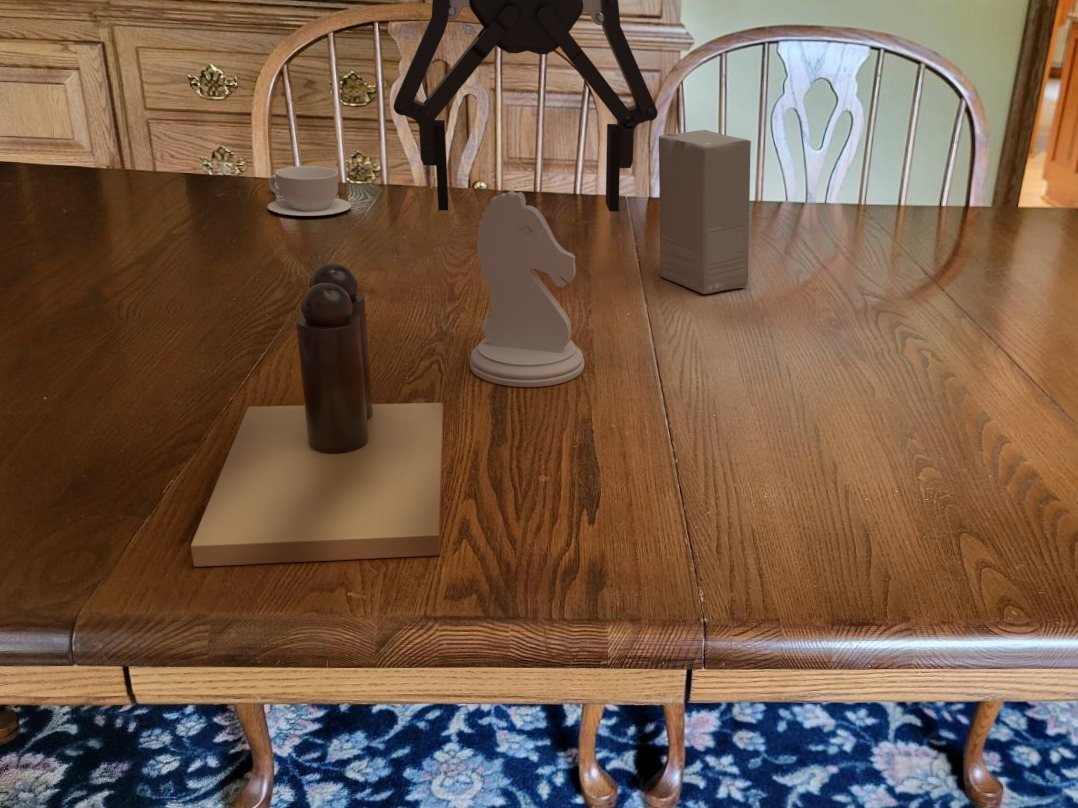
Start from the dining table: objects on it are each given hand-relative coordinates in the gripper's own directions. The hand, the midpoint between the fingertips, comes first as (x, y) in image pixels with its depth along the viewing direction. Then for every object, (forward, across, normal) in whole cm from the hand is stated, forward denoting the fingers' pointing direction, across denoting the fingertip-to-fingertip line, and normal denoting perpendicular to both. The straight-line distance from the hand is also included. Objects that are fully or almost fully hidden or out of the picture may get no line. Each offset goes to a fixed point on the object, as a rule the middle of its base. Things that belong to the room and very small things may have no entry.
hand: (529, 207), depth 90 cm
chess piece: (+14, 0, 0) cm, 14 cm away
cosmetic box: (+14, -20, -24) cm, 34 cm away
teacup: (+14, +24, -54) cm, 61 cm away
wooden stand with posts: (+14, +14, +21) cm, 29 cm away
